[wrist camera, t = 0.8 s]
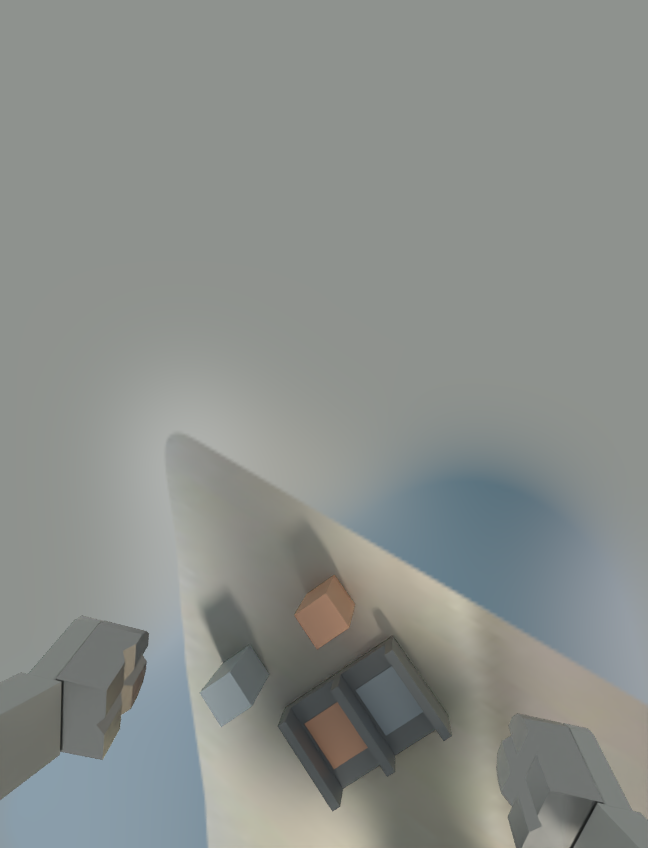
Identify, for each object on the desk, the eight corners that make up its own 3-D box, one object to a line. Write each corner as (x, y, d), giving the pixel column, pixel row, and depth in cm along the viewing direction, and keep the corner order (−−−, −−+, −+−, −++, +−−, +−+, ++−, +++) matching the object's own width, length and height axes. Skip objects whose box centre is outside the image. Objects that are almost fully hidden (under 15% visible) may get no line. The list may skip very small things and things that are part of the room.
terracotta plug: (355, 604, 52) (349, 627, 45) (326, 624, 52) (317, 649, 46) (334, 574, 52) (325, 593, 46) (306, 594, 53) (293, 615, 46)
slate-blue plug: (269, 674, 53) (251, 706, 47) (242, 692, 54) (221, 727, 47) (249, 644, 54) (229, 671, 47) (223, 662, 54) (199, 692, 48)
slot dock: (448, 715, 50) (451, 735, 46) (336, 786, 51) (332, 811, 48) (392, 635, 51) (392, 649, 48) (285, 707, 53) (277, 726, 49)
